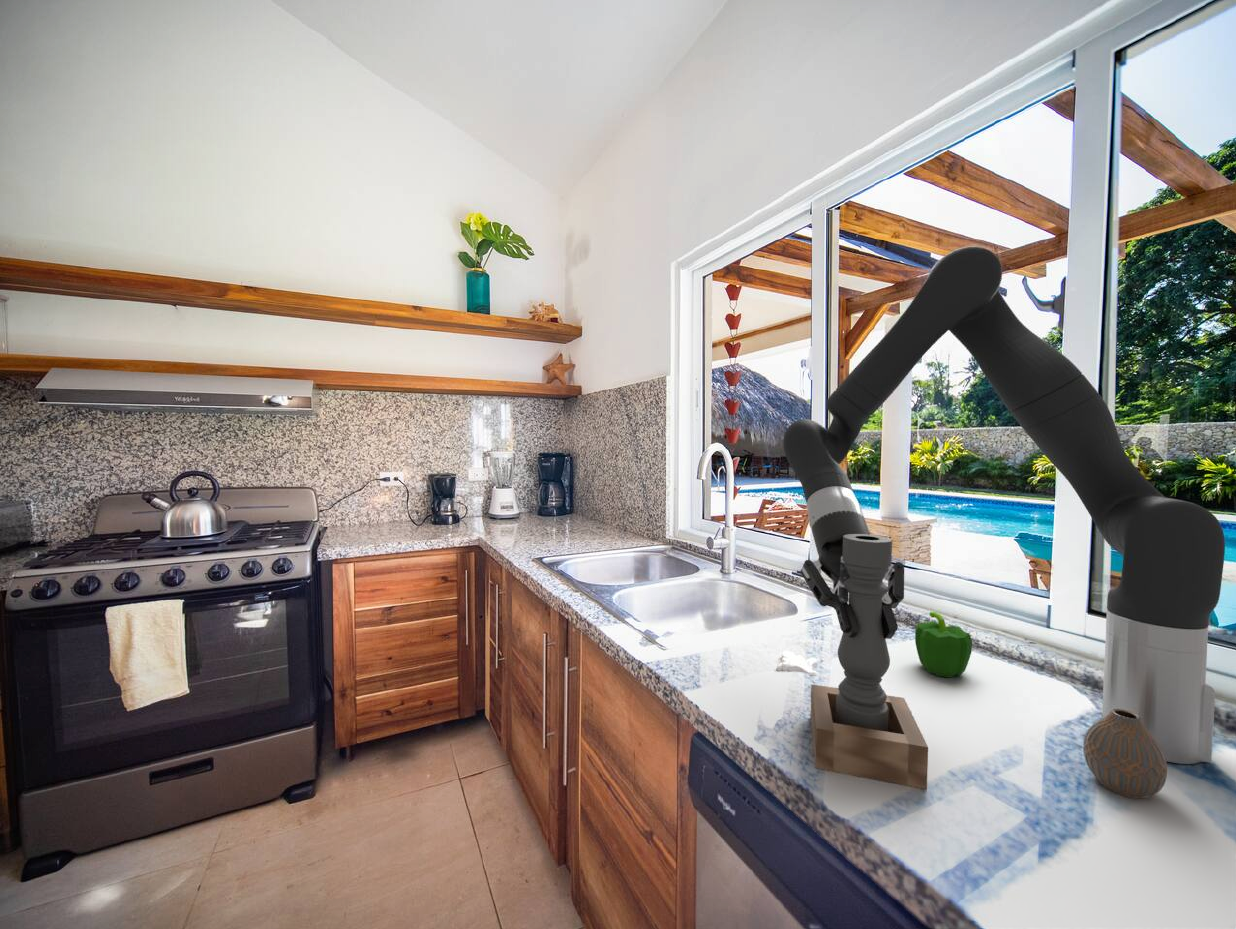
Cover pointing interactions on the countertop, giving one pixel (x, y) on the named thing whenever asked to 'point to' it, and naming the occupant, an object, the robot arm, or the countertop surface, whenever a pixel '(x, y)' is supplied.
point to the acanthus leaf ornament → (797, 663)
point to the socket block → (869, 743)
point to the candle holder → (864, 634)
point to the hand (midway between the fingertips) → (871, 634)
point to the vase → (1125, 755)
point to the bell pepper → (942, 647)
